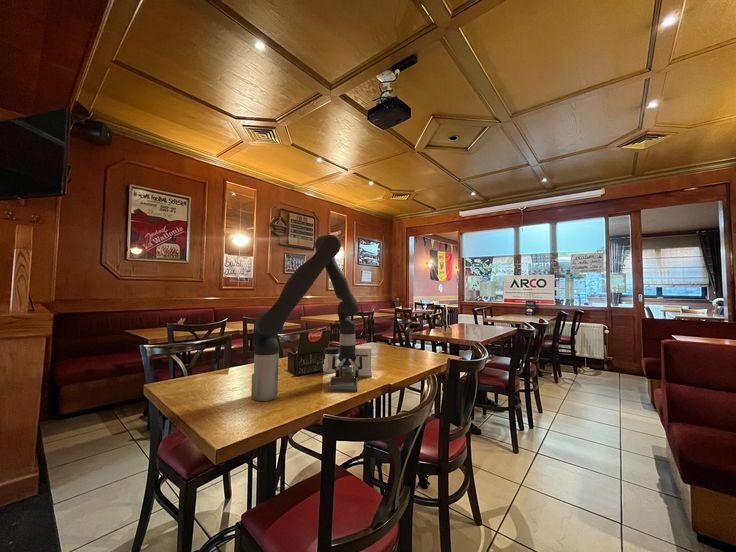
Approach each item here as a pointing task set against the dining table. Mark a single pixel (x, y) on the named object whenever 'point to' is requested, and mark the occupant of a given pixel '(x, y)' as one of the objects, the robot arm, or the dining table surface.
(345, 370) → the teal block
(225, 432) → the dining table surface
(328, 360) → the jar
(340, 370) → the rust block
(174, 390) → the dining table surface
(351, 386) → the tray
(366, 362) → the dispenser
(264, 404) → the dining table surface
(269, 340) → the robot arm
